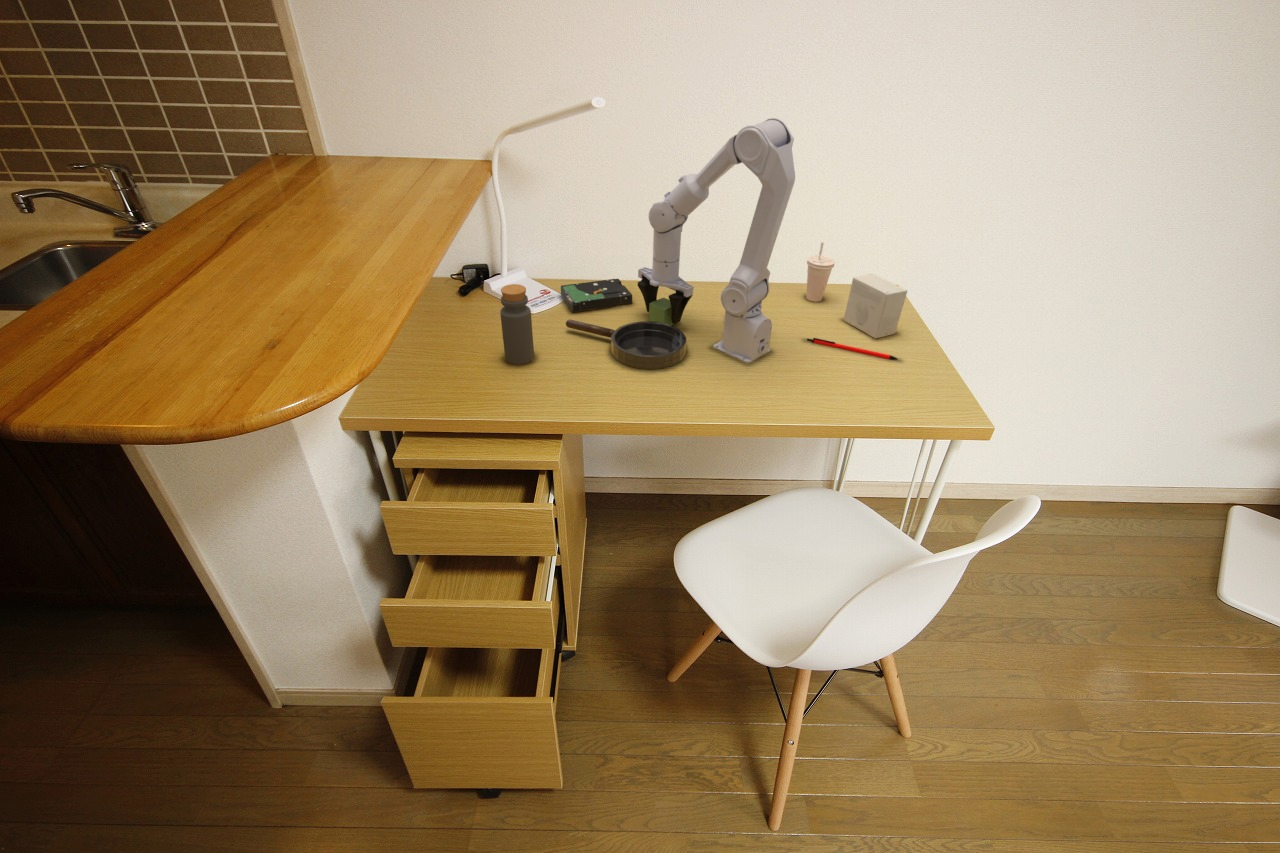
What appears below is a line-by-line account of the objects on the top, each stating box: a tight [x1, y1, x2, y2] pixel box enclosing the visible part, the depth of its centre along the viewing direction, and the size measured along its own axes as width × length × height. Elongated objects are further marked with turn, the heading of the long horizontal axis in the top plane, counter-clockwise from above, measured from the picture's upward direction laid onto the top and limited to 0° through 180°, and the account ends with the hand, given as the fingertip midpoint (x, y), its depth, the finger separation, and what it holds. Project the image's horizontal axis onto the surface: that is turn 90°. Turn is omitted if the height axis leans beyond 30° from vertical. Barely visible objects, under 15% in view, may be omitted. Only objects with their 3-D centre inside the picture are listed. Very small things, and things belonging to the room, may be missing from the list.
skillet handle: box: [565, 319, 615, 339], centre depth 140 cm, size 12×2×2 cm, turn 65°
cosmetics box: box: [843, 273, 908, 339], centre depth 145 cm, size 10×6×10 cm, turn 28°
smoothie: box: [805, 241, 836, 303], centre depth 156 cm, size 6×6×14 cm
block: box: [648, 296, 674, 326], centre depth 146 cm, size 5×5×5 cm
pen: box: [806, 337, 899, 361], centre depth 139 cm, size 1×19×1 cm, turn 65°
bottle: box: [499, 283, 535, 366], centre depth 129 cm, size 6×6×15 cm
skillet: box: [610, 320, 687, 370], centre depth 136 cm, size 15×15×3 cm
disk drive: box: [560, 278, 633, 313], centre depth 156 cm, size 10×3×15 cm
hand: (663, 316), depth 147 cm, fingers open, 7 cm apart
